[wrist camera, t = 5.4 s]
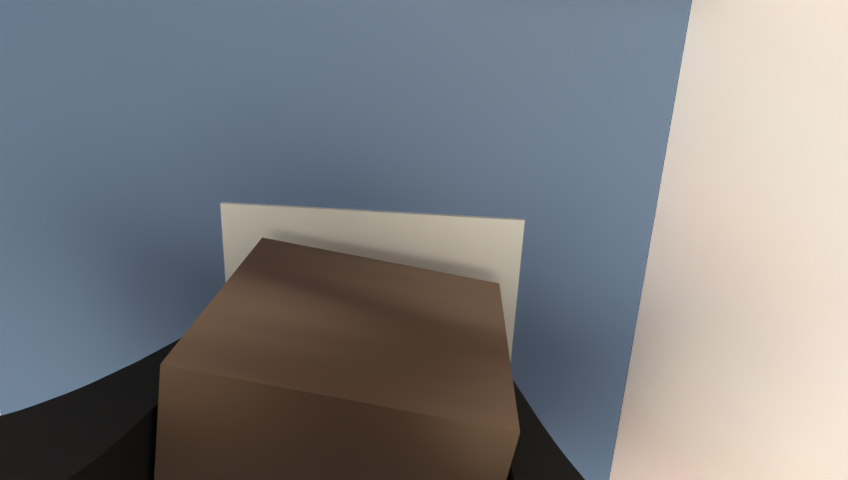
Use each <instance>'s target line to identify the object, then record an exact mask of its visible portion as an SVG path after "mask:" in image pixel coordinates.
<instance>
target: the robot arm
mask: <svg viewBox="0 0 848 480" xmlns="http://www.w3.org/2000/svg"><path fill="white" fill-rule="evenodd" d="M180 339H181V338H180ZM180 339H178V340H176V341H174V342H173V343H171V344H169V345H167V346H165V347H163V348H161V349H160V350H158V351H156V352H154V353H152V354H150V355H148V356H147V357H145V358H143V359H141V360H139V361H137V362H135V363H133V364H131V365H129V366H126V367H124V368H122V369H120V370H118V371H116V372H114V373H112V374H110V375H107V376H105V377H103V378H101V379H99V380H97V381H95V382H93V383H90V384H88V385H86V386H83V387H81V388H79V389H76V390H74V391H71V392H69V393H66V394H64V395H61V396H58V397H56V398H53V399H50V400H47V401H45V402H42V403H39V404H36V405H34V406H31V407H28V408H25V409H22V410H19V411H15V412H12V413H8V414H5V415H1V416H0V480H154V471H155V453H156V434H157V416H158V397H159V379H160V364H161V363H162V361H163V360H164V359H165V358H166V356H167V355H168V354H169V353H170V352H171V350H172V349H173V348H174V347H175V345H176V344H177V343H178V342H179V340H180ZM513 385H514V392H515V399H516V406H517V413H518V420H519V427H520V435H519V438H518V442H517V445H516V448H515V452H514V455H513V459H512V462H511V466H510V469H509V473H508V476H507V480H585V479H584V478H583V477H582V475H581V474H580V473H579V472H578V471H577V469H576V468H575V467H574V466H573V465H572V463H571V462H570V461H569V460H568V458H567V457H566V456H565V455H564V453H563V452H562V451H561V449H560V448H559V447H558V445H557V444H556V443H555V441H554V440H553V439H552V437H551V436H550V434H549V433H548V432H547V430H546V429H545V427H544V426H543V425H542V423H541V422H540V420H539V419H538V417H537V416H536V414H535V413H534V411H533V409H532V408H531V406H530V405H529V403H528V402H527V400H526V399H525V397H524V396H523V394H522V393H521V391H520V389H519V388H518V386H517V385H516V383H515V382H514V380H513Z"/></svg>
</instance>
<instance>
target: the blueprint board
mask: <svg viewBox="0 0 848 480" xmlns="http://www.w3.org/2000/svg"><path fill="white" fill-rule="evenodd" d="M691 3H692V0H0V413H1V415H5V414H8V413H12V412H15V411H19V410H22V409H25V408H28V407H31V406H34V405H36V404H39V403H42V402H45V401H47V400H50V399H53V398H56V397H58V396H61V395H64V394H66V393H69V392H71V391H74V390H76V389H79V388H81V387H83V386H86V385H88V384H90V383H93V382H95V381H97V380H99V379H101V378H103V377H105V376H107V375H110V374H112V373H114V372H116V371H118V370H120V369H122V368H124V367H126V366H129V365H131V364H133V363H135V362H137V361H139V360H141V359H143V358H145V357H147V356H148V355H150V354H152V353H154V352H156V351H158V350H160V349H161V348H163V347H165V346H167V345H169V344H171V343H173V342H174V341H176V340H178V339H180V338H182V337H183V335H184V334H185V333H186V332H187V330H188V329H189V328H190V327H191V325H192V324H193V323H194V322H195V320H196V319H197V318H198V317H199V315H200V314H201V313H202V312H203V310H204V309H205V308H206V307H207V305H208V304H209V303H210V302H211V301H212V299H213V298H214V297H215V296H216V294H217V293H218V292H219V291H220V289H221V288H222V287H223V286H224V284H225V283H226V282H227V281H228V279H229V278H230V277H231V276H232V274H233V273H234V272H235V271H236V269H237V268H238V267H239V266H240V264H241V263H242V262H243V261H244V259H245V258H246V257H247V256H248V254H249V253H250V252H251V251H252V250H253V248H254V247H255V246H256V245H257V243H258V242H259V241H260V240H261V238H267V239H273V240H278V241H283V242H288V243H293V244H298V245H303V246H309V247H314V248H319V249H324V250H329V251H334V252H340V253H345V254H350V255H355V256H360V257H365V258H371V259H376V260H381V261H386V262H391V263H396V264H402V265H407V266H412V267H417V268H422V269H427V270H433V271H438V272H443V273H448V274H453V275H458V276H464V277H469V278H474V279H479V280H484V281H489V282H495V283H499V285H500V292H501V299H502V306H503V313H504V321H505V328H506V335H507V342H508V349H509V356H510V363H511V370H512V377H513V380H514V382H515V383H516V385H517V386H518V388H519V389H520V391H521V393H522V394H523V396H524V397H525V399H526V400H527V402H528V403H529V405H530V406H531V408H532V409H533V411H534V413H535V414H536V416H537V417H538V419H539V420H540V422H541V423H542V425H543V426H544V427H545V429H546V430H547V432H548V433H549V434H550V436H551V437H552V439H553V440H554V441H555V443H556V444H557V445H558V447H559V448H560V449H561V451H562V452H563V453H564V455H565V456H566V457H567V458H568V460H569V461H570V462H571V463H572V465H573V466H574V467H575V468H576V469H577V471H578V472H579V473H580V474H581V475H582V477H583V478H584V479H585V480H609V477H610V471H611V466H612V460H613V454H614V448H615V443H616V437H617V431H618V425H619V419H620V414H621V408H622V402H623V396H624V391H625V385H626V379H627V373H628V367H629V362H630V356H631V350H632V344H633V339H634V333H635V327H636V321H637V315H638V310H639V304H640V298H641V292H642V287H643V281H644V275H645V269H646V263H647V258H648V252H649V246H650V240H651V235H652V229H653V223H654V217H655V211H656V206H657V200H658V194H659V188H660V183H661V177H662V171H663V165H664V159H665V154H666V148H667V142H668V136H669V131H670V125H671V119H672V113H673V107H674V102H675V96H676V90H677V84H678V79H679V73H680V67H681V61H682V55H683V50H684V44H685V38H686V32H687V27H688V21H689V15H690V9H691Z"/></svg>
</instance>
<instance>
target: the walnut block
mask: <svg viewBox="0 0 848 480" xmlns="http://www.w3.org/2000/svg"><path fill="white" fill-rule="evenodd" d="M519 435H520V427H519V420H518V413H517V406H516V399H515V392H514V385H513V377H512V370H511V363H510V356H509V349H508V342H507V335H506V328H505V321H504V313H503V306H502V299H501V292H500V285H499V283H495V282H489V281H484V280H479V279H474V278H469V277H464V276H458V275H453V274H448V273H443V272H438V271H433V270H427V269H422V268H417V267H412V266H407V265H402V264H396V263H391V262H386V261H381V260H376V259H371V258H365V257H360V256H355V255H350V254H345V253H340V252H334V251H329V250H324V249H319V248H314V247H309V246H303V245H298V244H293V243H288V242H283V241H278V240H273V239H267V238H261V240H260V241H259V242H258V243H257V245H256V246H255V247H254V248H253V250H252V251H251V252H250V253H249V254H248V256H247V257H246V258H245V259H244V261H243V262H242V263H241V264H240V266H239V267H238V268H237V269H236V271H235V272H234V273H233V274H232V276H231V277H230V278H229V279H228V281H227V282H226V283H225V284H224V286H223V287H222V288H221V289H220V291H219V292H218V293H217V294H216V296H215V297H214V298H213V299H212V301H211V302H210V303H209V304H208V305H207V307H206V308H205V309H204V310H203V312H202V313H201V314H200V315H199V317H198V318H197V319H196V320H195V322H194V323H193V324H192V325H191V327H190V328H189V329H188V330H187V332H186V333H185V334H184V335H183V337H182V338H181V339H180V340H179V342H178V343H177V344H176V345H175V347H174V348H173V349H172V350H171V352H170V353H169V354H168V355H167V356H166V358H165V359H164V360H163V361H162V363H161V364H160V379H159V397H158V416H157V434H156V453H155V471H154V480H507V476H508V473H509V469H510V466H511V462H512V459H513V455H514V452H515V448H516V445H517V442H518V438H519Z"/></svg>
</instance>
